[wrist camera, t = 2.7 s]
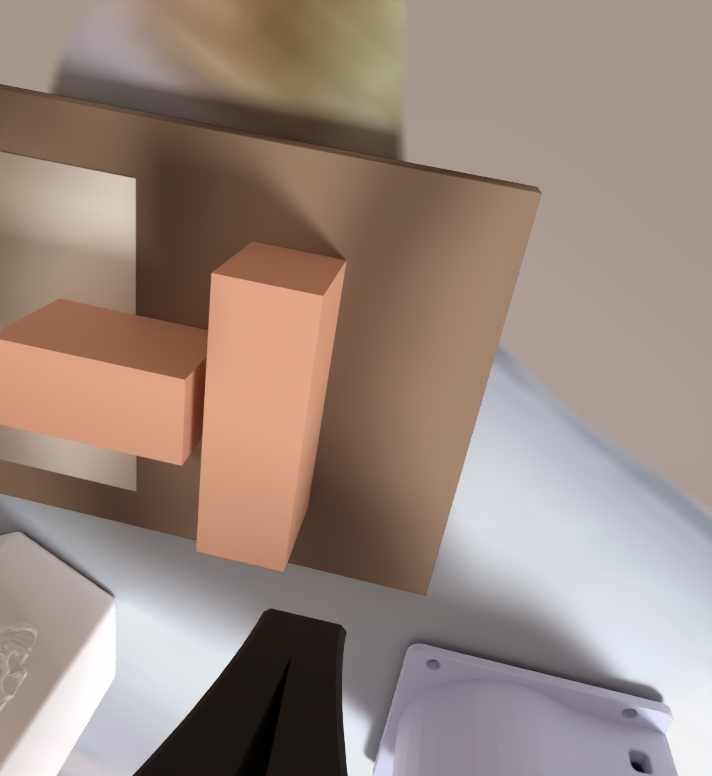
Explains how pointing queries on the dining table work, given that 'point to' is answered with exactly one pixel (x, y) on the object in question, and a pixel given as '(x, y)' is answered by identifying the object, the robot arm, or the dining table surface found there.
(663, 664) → the dining table surface
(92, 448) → the board
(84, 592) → the jar
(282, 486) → the t block
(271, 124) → the dining table surface
